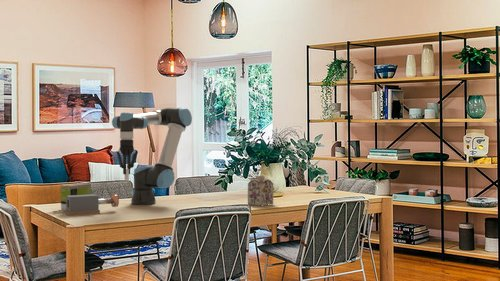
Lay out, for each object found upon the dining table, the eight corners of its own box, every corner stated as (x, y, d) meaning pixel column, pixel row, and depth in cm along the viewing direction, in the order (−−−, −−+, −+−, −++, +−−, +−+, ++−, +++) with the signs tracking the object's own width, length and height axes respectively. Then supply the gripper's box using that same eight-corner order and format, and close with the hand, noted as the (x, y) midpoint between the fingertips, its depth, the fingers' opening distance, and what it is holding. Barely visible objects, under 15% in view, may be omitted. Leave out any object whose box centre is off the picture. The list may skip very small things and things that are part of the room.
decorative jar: (273, 204, 418) (273, 175, 417) (261, 206, 409) (261, 177, 409) (259, 203, 426) (259, 174, 425) (246, 204, 417) (247, 175, 417)
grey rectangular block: (114, 206, 390) (114, 194, 390) (118, 207, 384) (118, 195, 384) (78, 208, 380) (78, 195, 379) (82, 209, 374) (82, 197, 373)
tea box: (81, 207, 405) (81, 182, 404) (92, 208, 398) (91, 183, 398) (60, 209, 393) (60, 184, 392) (70, 211, 387) (70, 185, 386)
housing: (93, 211, 386) (93, 193, 386) (99, 213, 376) (99, 195, 376) (63, 213, 378) (63, 195, 378) (69, 215, 368) (69, 197, 367)
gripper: (135, 138, 395) (135, 179, 396) (113, 139, 389) (113, 179, 389) (139, 139, 389) (139, 180, 389) (117, 139, 382) (117, 180, 383)
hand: (126, 179), depth 389 cm, fingers closed
